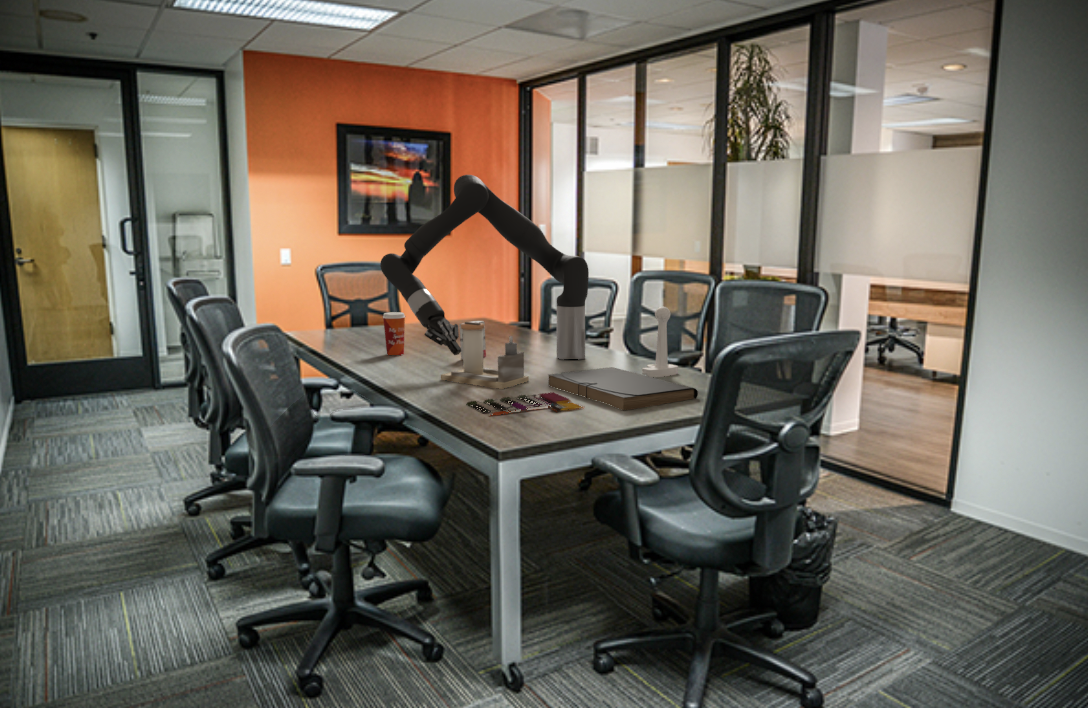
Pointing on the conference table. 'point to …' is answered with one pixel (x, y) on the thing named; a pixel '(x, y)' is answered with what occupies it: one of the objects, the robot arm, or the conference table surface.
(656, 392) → the brown book
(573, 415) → the conference table surface
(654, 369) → the joystick
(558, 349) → the robot arm
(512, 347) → the potentiometer
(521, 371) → the maple mount
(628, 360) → the conference table surface
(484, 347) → the ink box
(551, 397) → the colourful patterned flat panel
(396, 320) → the paper cup
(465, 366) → the lidded white jar
